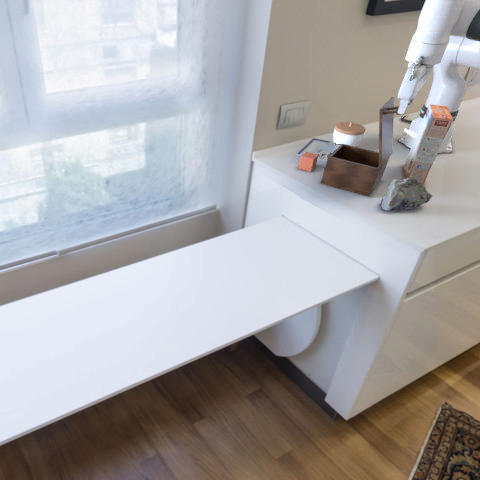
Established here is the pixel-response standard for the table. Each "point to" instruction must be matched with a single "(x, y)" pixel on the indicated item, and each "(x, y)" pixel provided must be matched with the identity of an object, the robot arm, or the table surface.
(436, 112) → the cracker box
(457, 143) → the table surface
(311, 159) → the block
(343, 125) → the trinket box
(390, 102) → the lid
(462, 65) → the robot arm
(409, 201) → the mineral rock
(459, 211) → the table surface
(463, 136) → the table surface
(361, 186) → the chest
